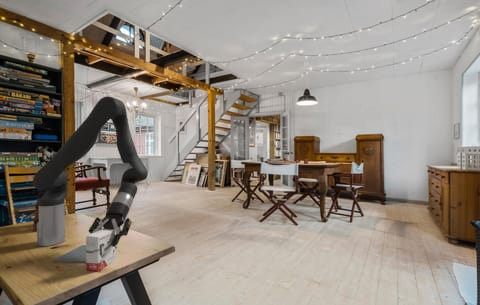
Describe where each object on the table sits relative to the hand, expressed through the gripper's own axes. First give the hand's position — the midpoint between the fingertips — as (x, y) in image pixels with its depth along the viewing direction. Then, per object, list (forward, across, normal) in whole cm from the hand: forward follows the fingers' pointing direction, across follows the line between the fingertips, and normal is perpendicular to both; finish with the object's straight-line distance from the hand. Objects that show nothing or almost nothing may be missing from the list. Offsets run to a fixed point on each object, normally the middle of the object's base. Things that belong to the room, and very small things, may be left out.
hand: (101, 245), depth 85 cm
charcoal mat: (-1, -12, +11) cm, 16 cm away
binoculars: (-22, -62, +32) cm, 73 cm away
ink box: (+5, 0, +5) cm, 7 cm away
